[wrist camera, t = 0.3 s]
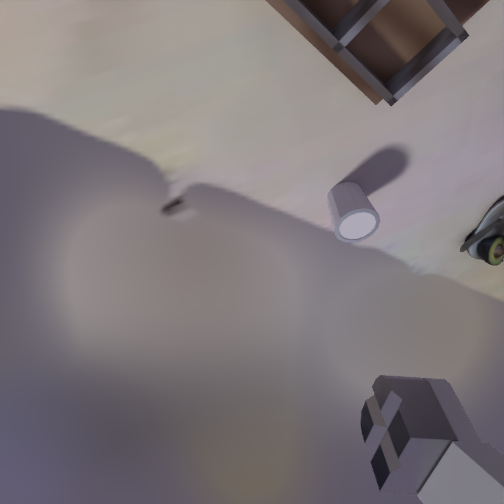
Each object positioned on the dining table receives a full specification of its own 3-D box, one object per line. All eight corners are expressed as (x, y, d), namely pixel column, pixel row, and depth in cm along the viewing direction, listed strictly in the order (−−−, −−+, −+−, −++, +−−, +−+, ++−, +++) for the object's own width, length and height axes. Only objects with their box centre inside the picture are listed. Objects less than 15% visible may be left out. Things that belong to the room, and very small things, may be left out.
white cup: (330, 176, 70) (344, 207, 66) (372, 180, 72) (388, 210, 68) (316, 211, 75) (328, 242, 70) (355, 213, 77) (369, 244, 72)
